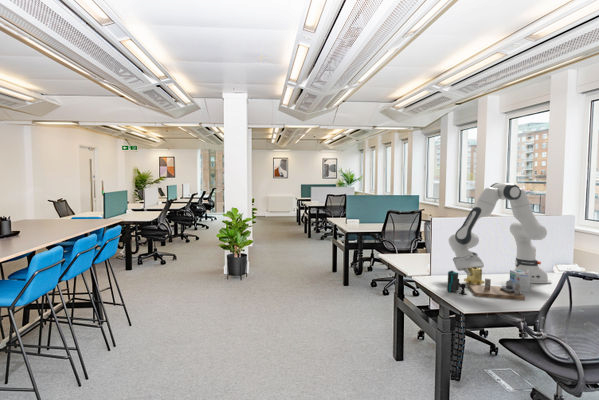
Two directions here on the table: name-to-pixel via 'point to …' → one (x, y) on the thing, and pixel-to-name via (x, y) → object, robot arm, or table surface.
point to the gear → (508, 287)
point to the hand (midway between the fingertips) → (475, 274)
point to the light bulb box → (520, 279)
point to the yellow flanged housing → (475, 276)
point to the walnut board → (495, 291)
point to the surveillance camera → (454, 283)
